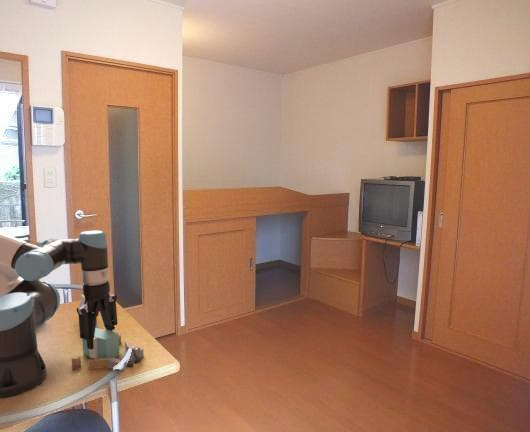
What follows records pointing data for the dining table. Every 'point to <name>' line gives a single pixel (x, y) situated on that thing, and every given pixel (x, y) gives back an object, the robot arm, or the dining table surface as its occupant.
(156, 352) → the dining table surface
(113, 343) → the pale green block
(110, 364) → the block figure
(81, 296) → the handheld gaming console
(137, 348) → the bosses
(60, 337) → the dining table surface
